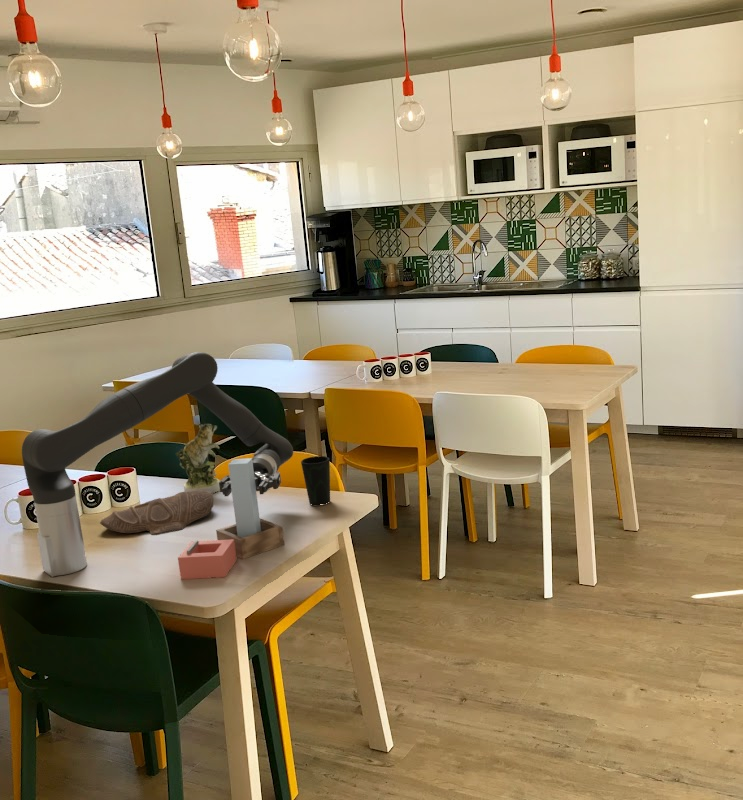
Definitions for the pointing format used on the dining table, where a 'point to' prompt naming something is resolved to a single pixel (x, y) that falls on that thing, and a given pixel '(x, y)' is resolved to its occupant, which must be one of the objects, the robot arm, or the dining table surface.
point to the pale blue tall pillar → (244, 497)
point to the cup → (317, 479)
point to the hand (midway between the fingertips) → (243, 491)
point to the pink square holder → (207, 559)
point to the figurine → (200, 461)
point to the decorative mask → (162, 514)
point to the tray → (254, 539)
